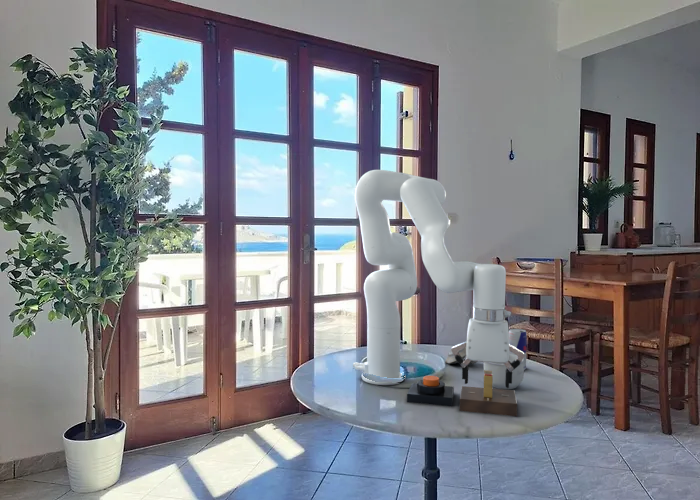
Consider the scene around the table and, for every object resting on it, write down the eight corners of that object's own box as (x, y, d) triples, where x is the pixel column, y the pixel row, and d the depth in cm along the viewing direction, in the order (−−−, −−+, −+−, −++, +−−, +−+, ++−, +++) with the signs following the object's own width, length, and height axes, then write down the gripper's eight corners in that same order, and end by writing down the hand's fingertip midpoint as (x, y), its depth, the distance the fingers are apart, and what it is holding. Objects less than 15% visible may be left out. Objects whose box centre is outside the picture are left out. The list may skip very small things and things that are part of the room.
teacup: (526, 393, 131) (526, 363, 131) (483, 391, 133) (484, 361, 133) (519, 378, 145) (519, 351, 144) (480, 376, 147) (481, 349, 146)
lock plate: (459, 411, 118) (459, 398, 118) (461, 397, 128) (461, 385, 128) (516, 416, 115) (517, 403, 115) (514, 402, 125) (514, 389, 125)
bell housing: (406, 402, 124) (407, 386, 124) (412, 391, 133) (412, 376, 133) (451, 406, 121) (451, 390, 121) (453, 394, 130) (454, 379, 130)
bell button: (422, 386, 126) (422, 379, 126) (424, 381, 130) (424, 375, 129) (438, 387, 125) (438, 380, 125) (439, 382, 128) (439, 376, 128)
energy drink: (529, 370, 152) (529, 331, 152) (512, 371, 152) (512, 332, 152) (521, 365, 158) (522, 328, 157) (505, 366, 157) (505, 328, 157)
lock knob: (483, 390, 124) (483, 369, 124) (491, 391, 124) (492, 369, 123) (483, 397, 119) (483, 374, 119) (492, 397, 119) (492, 375, 119)
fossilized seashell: (460, 352, 167) (463, 335, 164) (485, 369, 160) (490, 351, 157) (439, 364, 161) (442, 346, 158) (465, 381, 154) (469, 363, 151)
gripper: (524, 314, 122) (522, 383, 123) (453, 310, 127) (451, 376, 128) (527, 320, 115) (524, 392, 116) (451, 315, 119) (449, 385, 120)
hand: (486, 384), depth 122 cm, fingers open, 9 cm apart
